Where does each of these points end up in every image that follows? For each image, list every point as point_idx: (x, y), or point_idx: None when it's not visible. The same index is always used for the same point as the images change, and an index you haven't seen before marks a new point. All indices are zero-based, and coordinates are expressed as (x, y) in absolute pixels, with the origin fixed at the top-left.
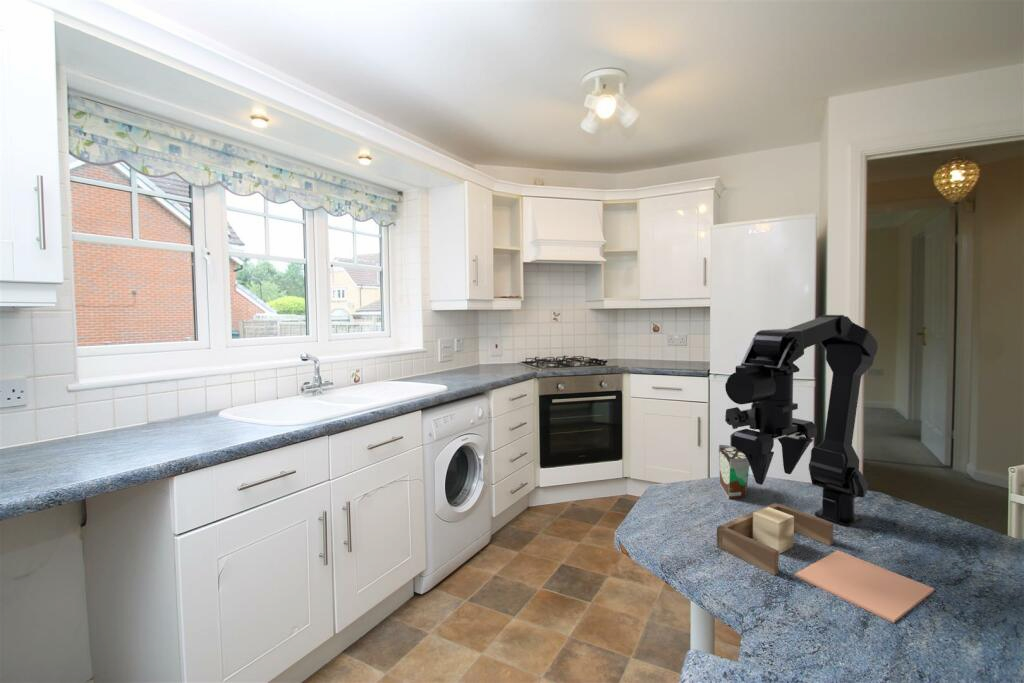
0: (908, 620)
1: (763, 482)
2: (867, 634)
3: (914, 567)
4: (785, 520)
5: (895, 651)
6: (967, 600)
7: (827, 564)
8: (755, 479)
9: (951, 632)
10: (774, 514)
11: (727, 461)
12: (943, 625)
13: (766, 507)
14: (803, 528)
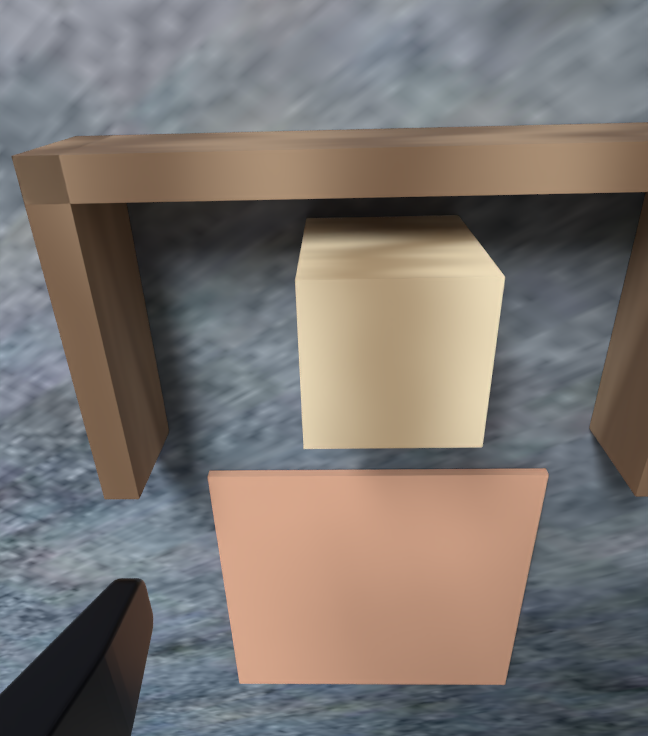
0: (287, 685)
1: (143, 655)
2: None
3: (627, 621)
4: (382, 445)
5: None
6: (517, 716)
7: (387, 503)
8: (85, 616)
9: (324, 729)
10: (407, 371)
11: None
12: (339, 718)
13: (640, 151)
14: (632, 332)
